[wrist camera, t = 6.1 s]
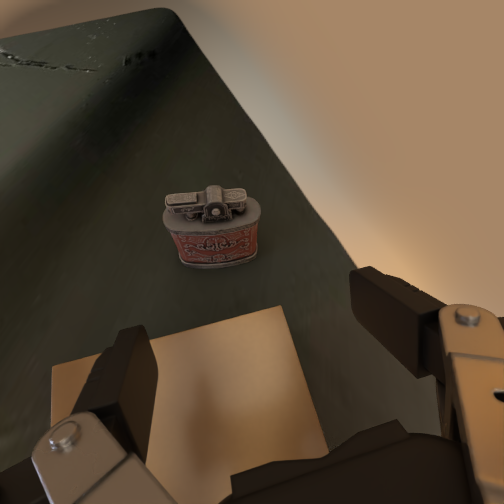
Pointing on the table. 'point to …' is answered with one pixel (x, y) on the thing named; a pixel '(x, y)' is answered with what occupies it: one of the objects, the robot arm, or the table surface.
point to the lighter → (213, 226)
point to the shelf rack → (218, 404)
